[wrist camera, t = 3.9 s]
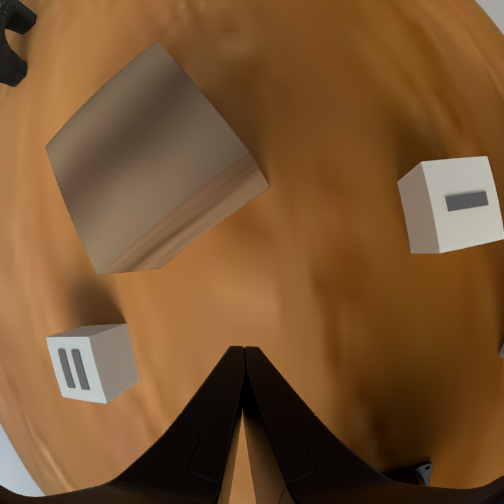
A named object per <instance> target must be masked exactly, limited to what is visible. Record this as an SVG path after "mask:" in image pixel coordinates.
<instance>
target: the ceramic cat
mask: <svg viewBox="0 0 504 504" xmlns="http://www.w3.org/2000/svg"><path fill="white" fill-rule="evenodd" d="M35 19H36V14H34V13H33V12H32V11H31V10H30V9H29V8H27V7H26V6H25V5H23V4H22V3H21V2H20V1H19V0H0V83H4V84H7V85H9V86H12V87H15V86H16V85H17V84H18V83H19V82H20V81H21V80H22V79H23V78H24V77H25V76H26V73H27V67H28V66H27V63H26V62H25V61H24V60H22V59H21V58H20V57H19V56H18V55H17V54H16V53H15V52H14V51H13V50H12V49H11V48H10V46H9V44H8V42H7V40H6V37H5V29H9V30H12V31H14V32H17V33H19V34H25V33H26V32H27V31H28V30H29V29H30V28H31V27H32V26H33V25H34V24H35Z"/></svg>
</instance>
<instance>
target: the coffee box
mask: <svg viewBox="0 0 504 504" xmlns="http://www.w3.org/2000/svg"><path fill="white" fill-rule="evenodd" d="M499 355H500V356H501V357H503V358H504V343H503V346H502V348H501V350H500V352H499Z"/></svg>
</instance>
